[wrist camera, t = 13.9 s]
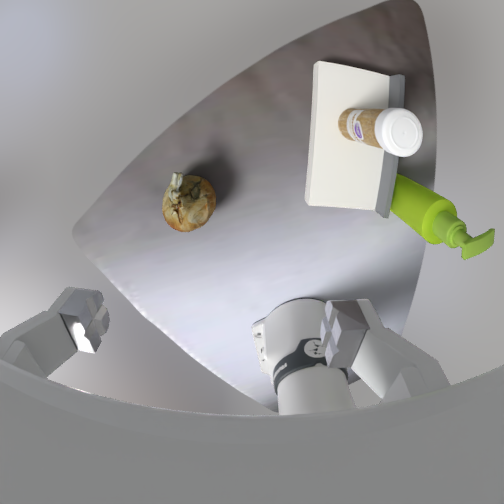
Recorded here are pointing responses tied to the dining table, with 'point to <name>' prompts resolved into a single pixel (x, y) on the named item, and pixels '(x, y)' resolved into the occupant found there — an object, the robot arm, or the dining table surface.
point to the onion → (188, 202)
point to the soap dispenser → (435, 218)
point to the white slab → (346, 151)
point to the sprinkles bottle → (383, 129)
